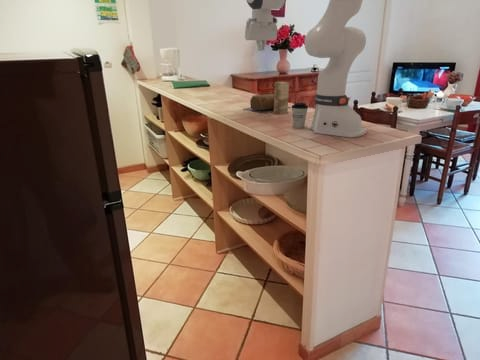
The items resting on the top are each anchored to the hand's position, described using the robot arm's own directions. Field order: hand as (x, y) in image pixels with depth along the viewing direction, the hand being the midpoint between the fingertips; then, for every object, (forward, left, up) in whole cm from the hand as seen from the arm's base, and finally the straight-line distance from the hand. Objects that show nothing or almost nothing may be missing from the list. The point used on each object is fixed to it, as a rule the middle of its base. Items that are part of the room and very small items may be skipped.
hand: (261, 50), depth 166 cm
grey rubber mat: (+4, -11, -30) cm, 32 cm away
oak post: (-8, -7, -30) cm, 32 cm away
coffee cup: (-33, +14, -30) cm, 47 cm away
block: (+3, +1, -26) cm, 26 cm away
